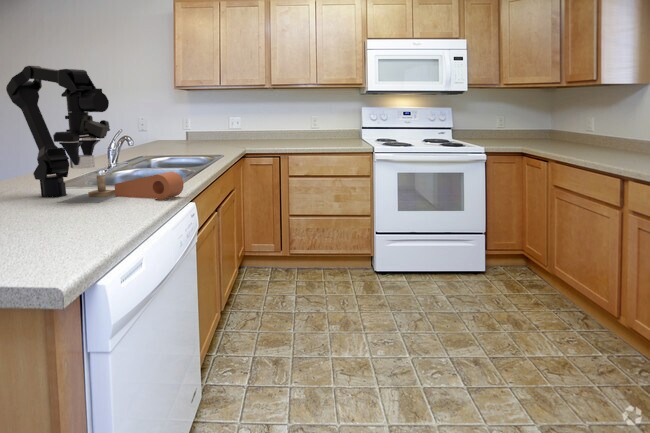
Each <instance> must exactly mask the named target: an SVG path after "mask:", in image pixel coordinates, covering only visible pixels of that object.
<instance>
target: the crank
mask: <svg viewBox="0 0 650 433" xmlns="http://www.w3.org/2000/svg"><path fill="white" fill-rule="evenodd" d="M114 190H115V196H117V197H121V198H122V197H123V198H138V199H139V198H140V199H143V198H144V199H154V200H155V201H163V200H167V199H170V198H173V197H174V198H175V197H176V196H177V197H178V196H179V195H180V194H181V193H182V191H183V190H184V180H183V178H182V177H181V175H180V174H179V173H178V172H174V171H168V172H163V173H159V174H154V175H149V176H144V177H140V178H134V179H130V180H125V181H121V182H116V183H114Z"/></svg>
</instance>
